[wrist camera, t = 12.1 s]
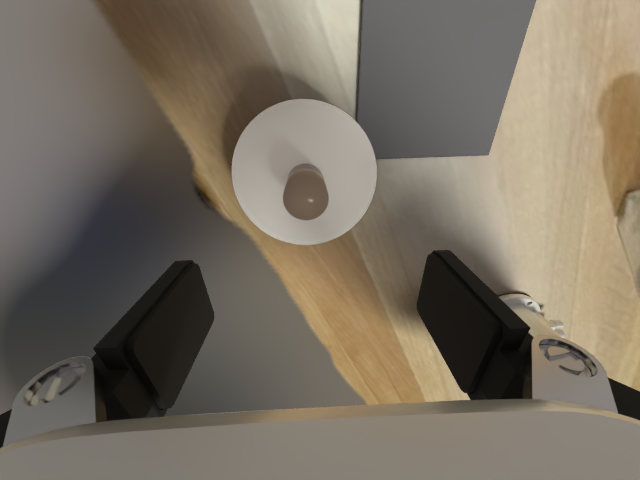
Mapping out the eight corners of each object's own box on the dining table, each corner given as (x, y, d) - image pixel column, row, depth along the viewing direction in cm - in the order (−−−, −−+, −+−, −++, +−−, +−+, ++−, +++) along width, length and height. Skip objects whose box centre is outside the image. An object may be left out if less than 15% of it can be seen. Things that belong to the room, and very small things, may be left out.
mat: (542, -36, 21) (548, -39, 20) (485, 154, 28) (488, 155, 28) (364, -36, 20) (365, -39, 20) (354, 159, 28) (355, 159, 27)
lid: (380, 96, 21) (406, 91, 15) (369, 237, 27) (385, 266, 22) (219, 102, 20) (188, 98, 15) (248, 244, 27) (234, 276, 22)
